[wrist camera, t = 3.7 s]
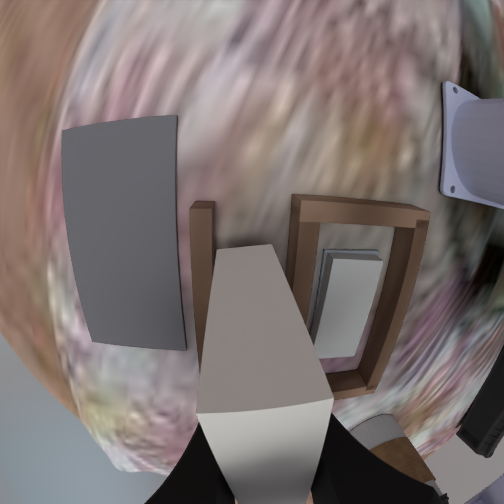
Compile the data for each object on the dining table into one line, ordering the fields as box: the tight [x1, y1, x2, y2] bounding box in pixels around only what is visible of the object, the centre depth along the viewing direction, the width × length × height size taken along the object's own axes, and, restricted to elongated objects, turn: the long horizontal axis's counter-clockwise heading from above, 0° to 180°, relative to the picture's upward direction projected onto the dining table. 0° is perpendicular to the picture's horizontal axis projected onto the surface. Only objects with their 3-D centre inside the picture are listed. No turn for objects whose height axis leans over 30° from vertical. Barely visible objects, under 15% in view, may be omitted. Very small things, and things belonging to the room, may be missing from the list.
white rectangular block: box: [196, 244, 334, 504], centre depth 10 cm, size 2×10×8 cm, turn 5°
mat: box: [61, 115, 187, 351], centre depth 14 cm, size 7×14×1 cm, turn 178°
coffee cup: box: [350, 414, 449, 504], centre depth 16 cm, size 8×8×15 cm
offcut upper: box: [310, 252, 383, 359], centre depth 16 cm, size 3×7×1 cm, turn 175°
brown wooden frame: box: [190, 194, 430, 400], centre depth 16 cm, size 13×14×2 cm
